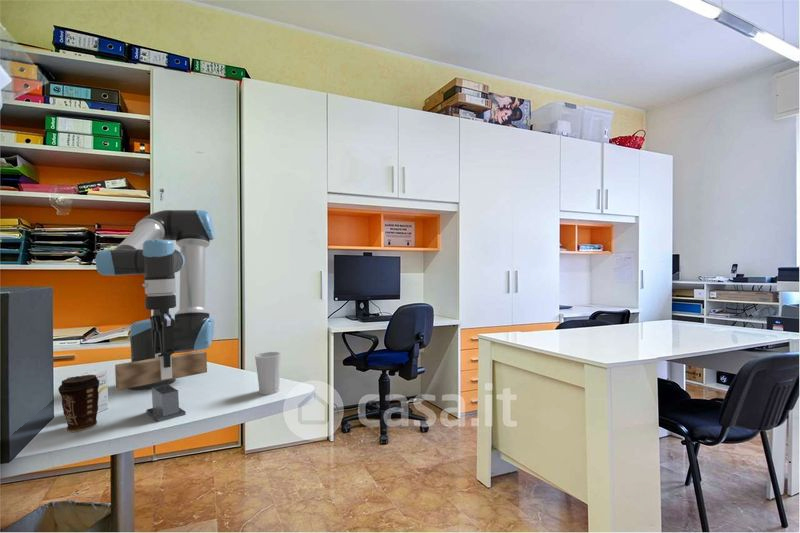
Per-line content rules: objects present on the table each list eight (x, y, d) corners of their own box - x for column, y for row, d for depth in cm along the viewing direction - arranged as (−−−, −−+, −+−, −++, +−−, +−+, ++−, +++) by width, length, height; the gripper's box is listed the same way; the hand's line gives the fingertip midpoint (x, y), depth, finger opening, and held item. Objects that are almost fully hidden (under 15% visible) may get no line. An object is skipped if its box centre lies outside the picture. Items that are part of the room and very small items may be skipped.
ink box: (95, 408, 123) (93, 368, 123) (109, 408, 122) (107, 369, 122) (66, 419, 115) (64, 377, 114) (82, 420, 114) (80, 377, 113)
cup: (251, 392, 133) (250, 355, 133) (274, 386, 139) (272, 350, 139) (264, 397, 128) (262, 358, 128) (286, 390, 134) (285, 353, 133)
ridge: (146, 412, 118) (145, 388, 118) (173, 405, 123) (172, 382, 123) (157, 422, 110) (156, 396, 110) (185, 414, 115) (184, 389, 115)
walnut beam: (119, 389, 107) (118, 366, 107) (115, 387, 110) (115, 364, 110) (207, 372, 122) (206, 352, 122) (202, 370, 125) (201, 350, 125)
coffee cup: (77, 421, 112) (74, 374, 112) (109, 419, 113) (106, 372, 113) (52, 435, 104) (50, 383, 104) (87, 432, 104) (85, 381, 104)
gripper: (137, 294, 119) (140, 375, 119) (154, 296, 107) (157, 386, 107) (166, 292, 124) (169, 369, 125) (185, 294, 112) (188, 379, 113)
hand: (164, 377), depth 116 cm, fingers closed on walnut beam, 4 cm apart
